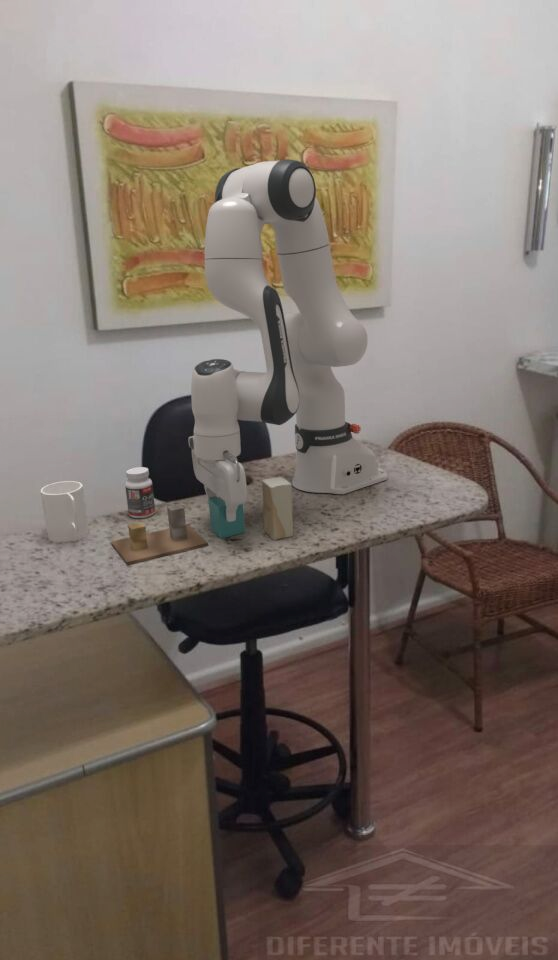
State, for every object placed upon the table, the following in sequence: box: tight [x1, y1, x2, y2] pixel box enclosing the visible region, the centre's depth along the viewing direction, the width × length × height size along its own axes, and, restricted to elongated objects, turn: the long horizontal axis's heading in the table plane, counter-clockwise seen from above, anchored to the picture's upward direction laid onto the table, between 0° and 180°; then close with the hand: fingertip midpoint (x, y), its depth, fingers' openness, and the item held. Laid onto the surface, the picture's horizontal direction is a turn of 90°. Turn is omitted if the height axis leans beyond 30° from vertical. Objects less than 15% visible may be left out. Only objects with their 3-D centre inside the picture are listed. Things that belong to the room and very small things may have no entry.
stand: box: [111, 503, 209, 566], centre depth 144 cm, size 16×11×7 cm
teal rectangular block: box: [207, 496, 246, 539], centre depth 149 cm, size 5×5×7 cm
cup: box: [40, 480, 90, 543], centre depth 150 cm, size 8×12×10 cm
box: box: [261, 476, 294, 541], centre depth 145 cm, size 5×4×11 cm
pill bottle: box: [124, 466, 156, 519], centre depth 160 cm, size 6×6×10 cm
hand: (221, 512), depth 149 cm, fingers open, 8 cm apart
